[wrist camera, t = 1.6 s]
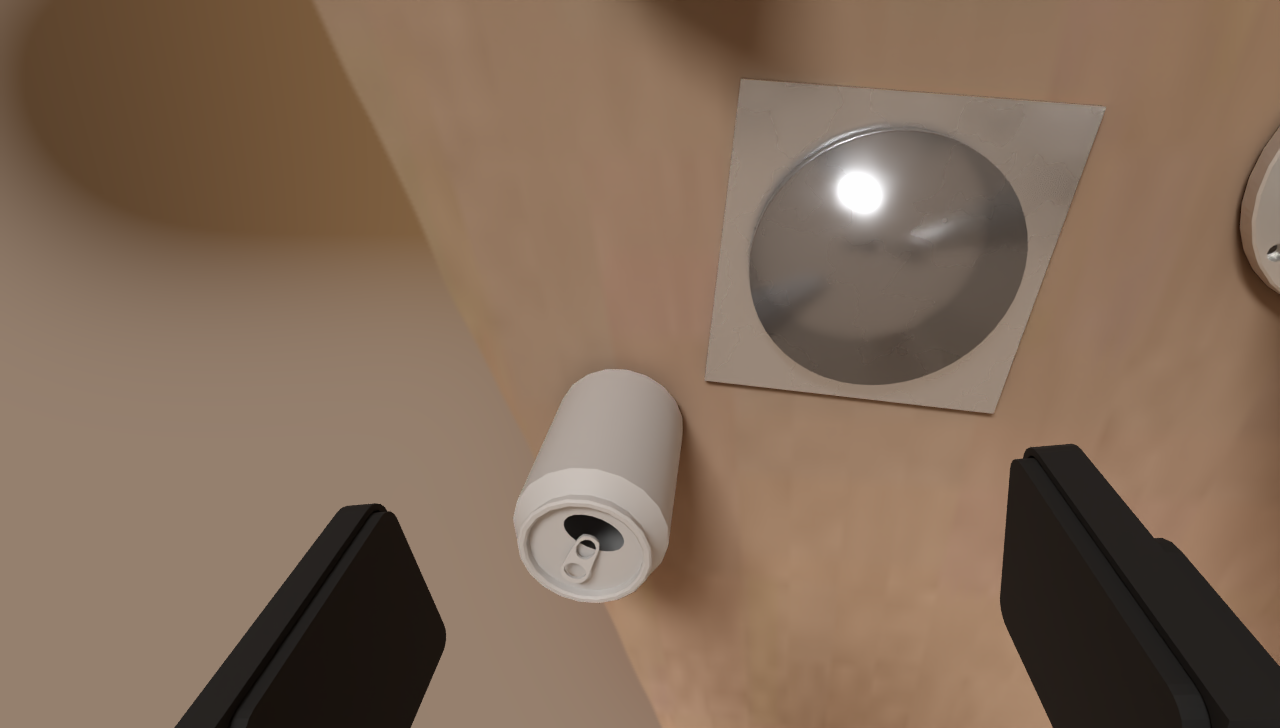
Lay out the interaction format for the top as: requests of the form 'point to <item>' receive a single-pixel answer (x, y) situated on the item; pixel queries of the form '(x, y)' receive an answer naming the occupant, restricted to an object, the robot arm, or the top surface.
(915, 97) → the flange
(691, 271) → the top surface
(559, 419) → the can
